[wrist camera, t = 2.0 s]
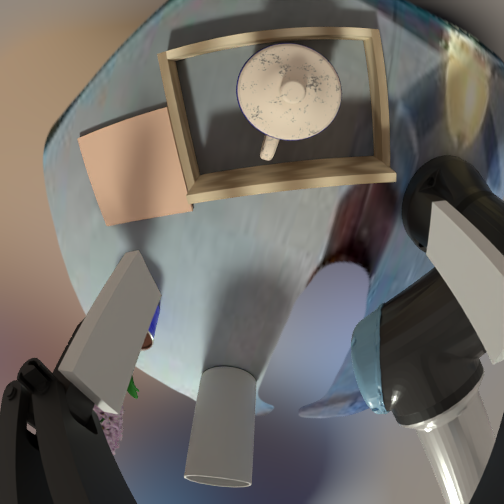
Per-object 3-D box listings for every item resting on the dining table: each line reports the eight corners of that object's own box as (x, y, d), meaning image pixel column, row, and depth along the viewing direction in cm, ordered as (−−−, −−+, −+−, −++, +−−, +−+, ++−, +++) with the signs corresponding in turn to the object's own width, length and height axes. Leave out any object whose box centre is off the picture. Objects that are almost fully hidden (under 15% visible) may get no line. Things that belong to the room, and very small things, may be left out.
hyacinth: (117, 275, 44) (37, 433, 19) (171, 299, 46) (117, 471, 21) (112, 307, 48) (50, 446, 23) (160, 328, 50) (116, 476, 25)
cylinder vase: (252, 363, 55) (245, 478, 34) (259, 391, 62) (255, 487, 41) (194, 364, 56) (174, 471, 36) (209, 391, 63) (196, 483, 42)
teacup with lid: (256, 45, 25) (251, 23, 15) (332, 70, 26) (366, 62, 16) (227, 138, 31) (210, 163, 22) (300, 159, 32) (316, 194, 23)
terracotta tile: (168, 106, 29) (166, 107, 29) (193, 209, 37) (192, 211, 36) (79, 137, 31) (77, 138, 30) (108, 224, 38) (106, 226, 38)
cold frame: (369, 33, 23) (393, 23, 17) (380, 163, 32) (404, 181, 26) (166, 56, 26) (142, 50, 20) (194, 183, 35) (179, 205, 29)
